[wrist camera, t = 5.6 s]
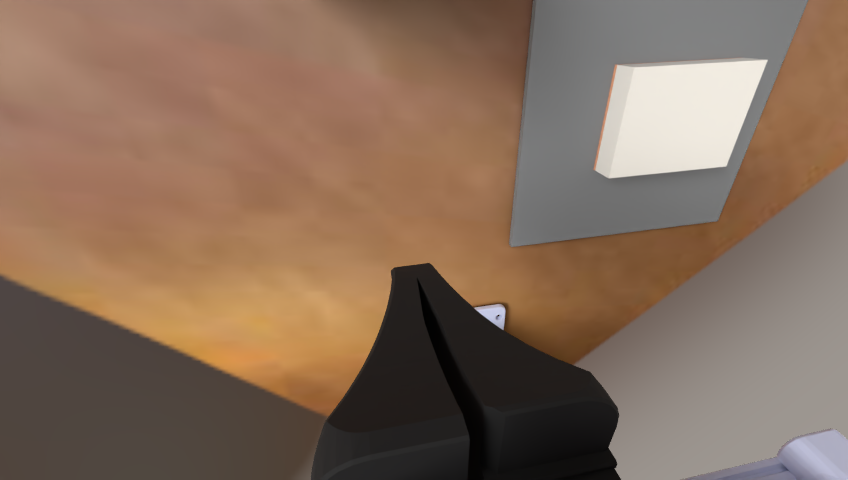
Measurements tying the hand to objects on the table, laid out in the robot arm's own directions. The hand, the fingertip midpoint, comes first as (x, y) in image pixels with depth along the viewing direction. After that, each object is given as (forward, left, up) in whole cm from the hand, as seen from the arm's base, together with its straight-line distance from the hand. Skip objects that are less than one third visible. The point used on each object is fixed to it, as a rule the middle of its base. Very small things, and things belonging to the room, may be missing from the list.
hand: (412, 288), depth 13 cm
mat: (+3, -16, -10) cm, 19 cm away
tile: (+3, -17, -9) cm, 20 cm away
